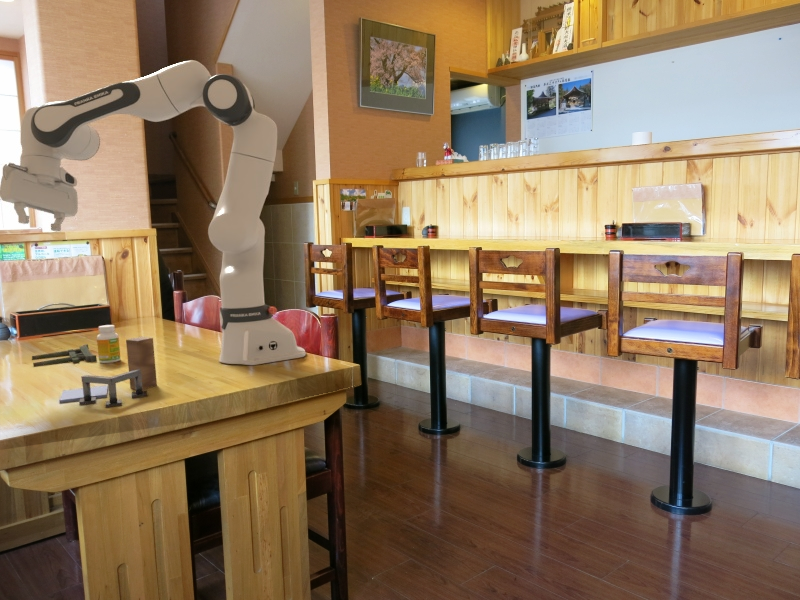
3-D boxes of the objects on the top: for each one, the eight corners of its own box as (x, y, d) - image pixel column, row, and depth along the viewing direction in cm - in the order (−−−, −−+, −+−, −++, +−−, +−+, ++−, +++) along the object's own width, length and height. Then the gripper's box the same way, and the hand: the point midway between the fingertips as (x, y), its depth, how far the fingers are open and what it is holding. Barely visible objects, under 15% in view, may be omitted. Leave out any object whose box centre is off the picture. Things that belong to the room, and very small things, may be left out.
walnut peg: (145, 383, 151) (141, 336, 149) (157, 385, 149) (152, 337, 147) (130, 388, 147) (126, 339, 146) (141, 390, 145) (137, 341, 144)
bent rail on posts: (146, 393, 142) (144, 367, 142) (148, 402, 135) (145, 375, 134) (80, 401, 137) (77, 375, 137) (77, 411, 130) (75, 383, 129)
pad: (107, 387, 148) (107, 385, 148) (106, 397, 140) (106, 394, 140) (63, 393, 145) (63, 390, 145) (59, 403, 137) (59, 400, 137)
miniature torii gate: (31, 353, 190) (87, 344, 197) (32, 360, 190) (89, 351, 198) (33, 365, 171) (96, 355, 179) (34, 374, 172) (97, 363, 179)
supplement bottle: (112, 363, 175) (109, 327, 174) (94, 363, 177) (91, 327, 175) (124, 359, 181) (121, 324, 180) (107, 359, 182) (104, 324, 181)
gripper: (13, 158, 152) (13, 216, 151) (82, 181, 172) (82, 233, 170) (-7, 162, 154) (-8, 220, 153) (63, 184, 174) (62, 236, 172)
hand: (40, 227), depth 162 cm, fingers open, 8 cm apart
